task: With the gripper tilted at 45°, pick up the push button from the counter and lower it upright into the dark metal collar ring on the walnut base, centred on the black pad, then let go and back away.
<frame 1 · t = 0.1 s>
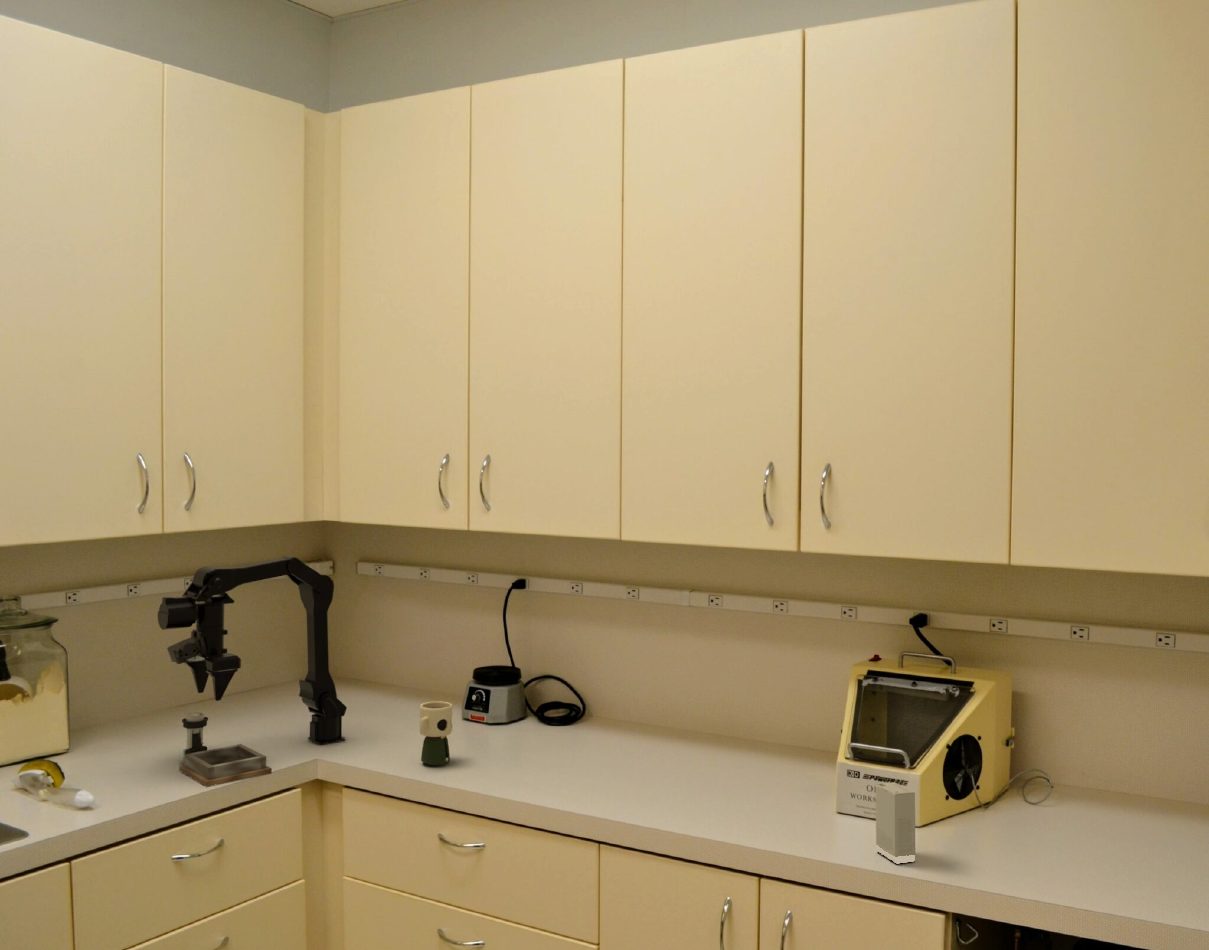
hand: (209, 696, 224), 15 cm above the countertop, tool pointing down, fingers open, 9 cm apart
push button: (192, 761, 226), on the countertop
character mug: (435, 764, 226), on the countertop
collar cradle: (225, 771, 218), on the countertop
skincare box: (894, 858, 177), on the countertop
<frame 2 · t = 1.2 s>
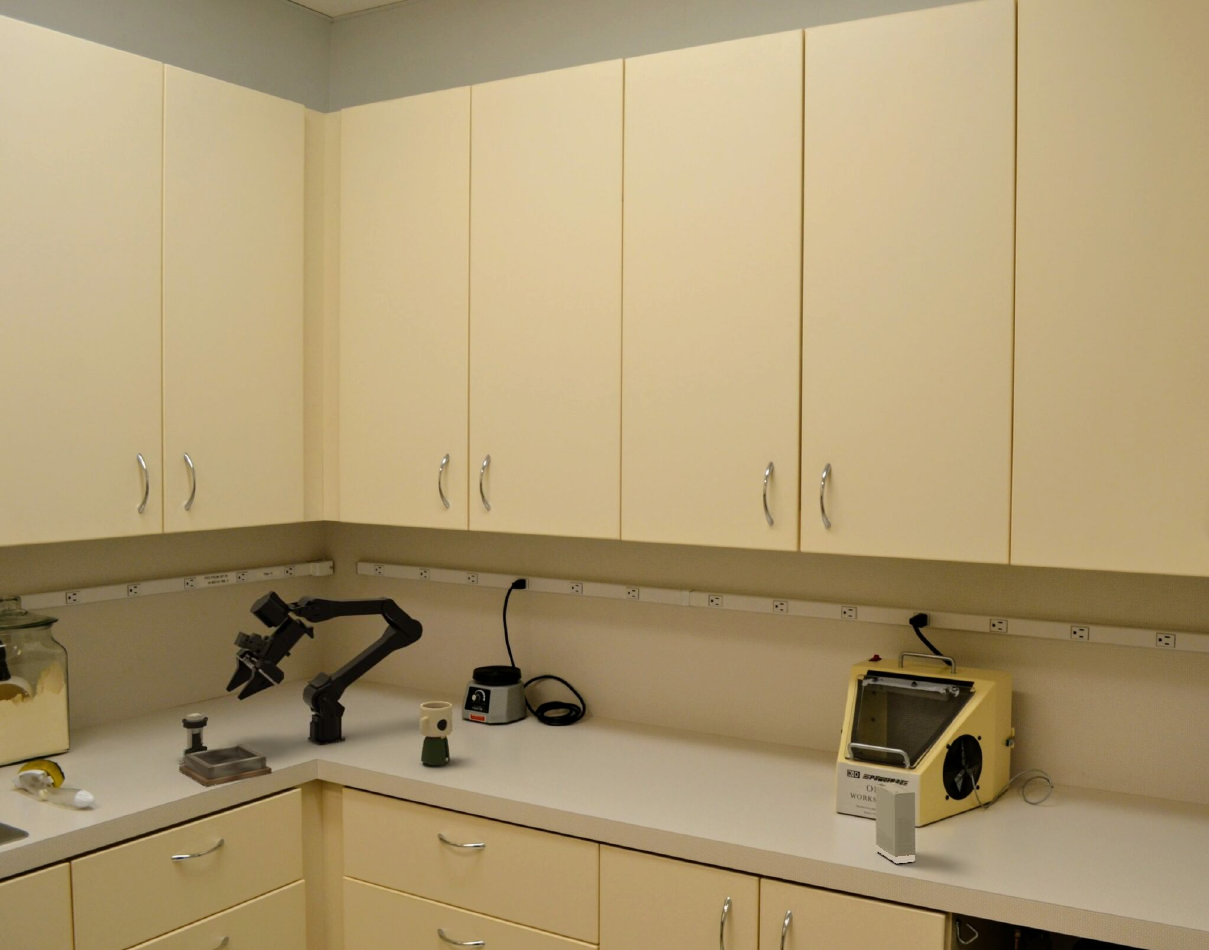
hand: (233, 694, 231), 13 cm above the countertop, tool tilted 45°, fingers open, 9 cm apart
nothing on the countertop moved.
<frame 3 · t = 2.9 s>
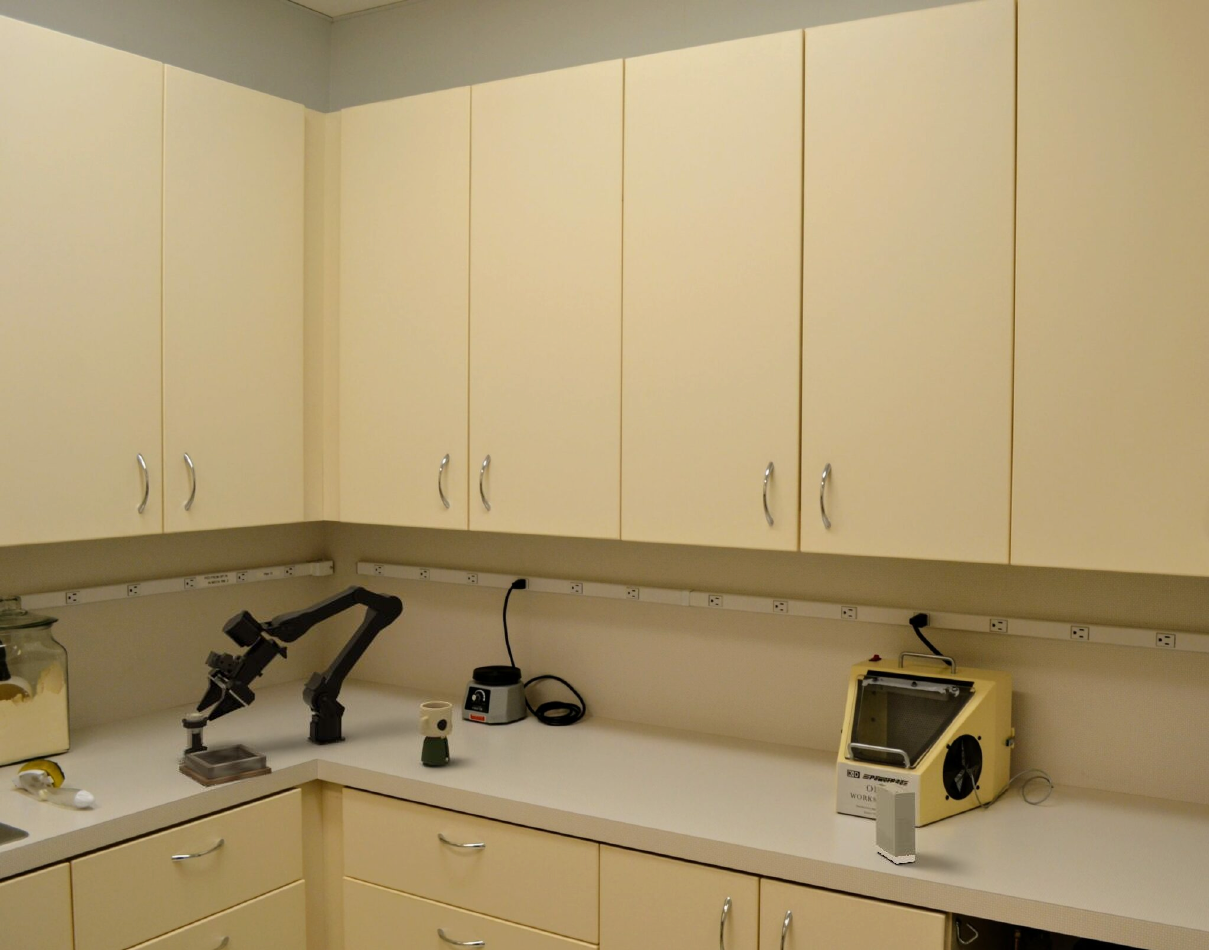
hand: (203, 715, 227), 10 cm above the countertop, tool tilted 45°, fingers open, 9 cm apart
nothing on the countertop moved.
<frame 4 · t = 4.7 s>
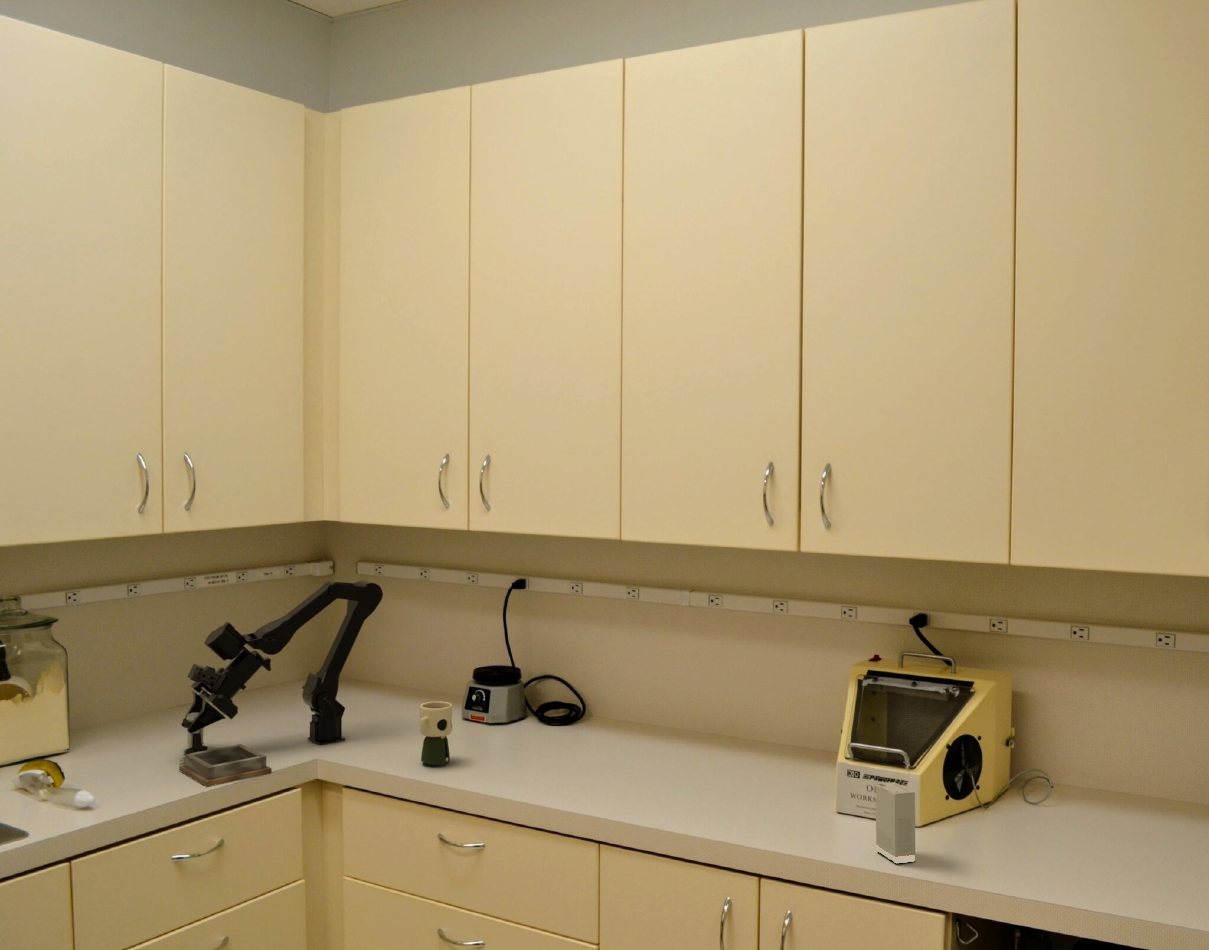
hand: (185, 729, 225), 7 cm above the countertop, tool tilted 45°, fingers closed on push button, 5 cm apart
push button: (192, 761, 226), on the countertop, touching gripper
everything else where it was.
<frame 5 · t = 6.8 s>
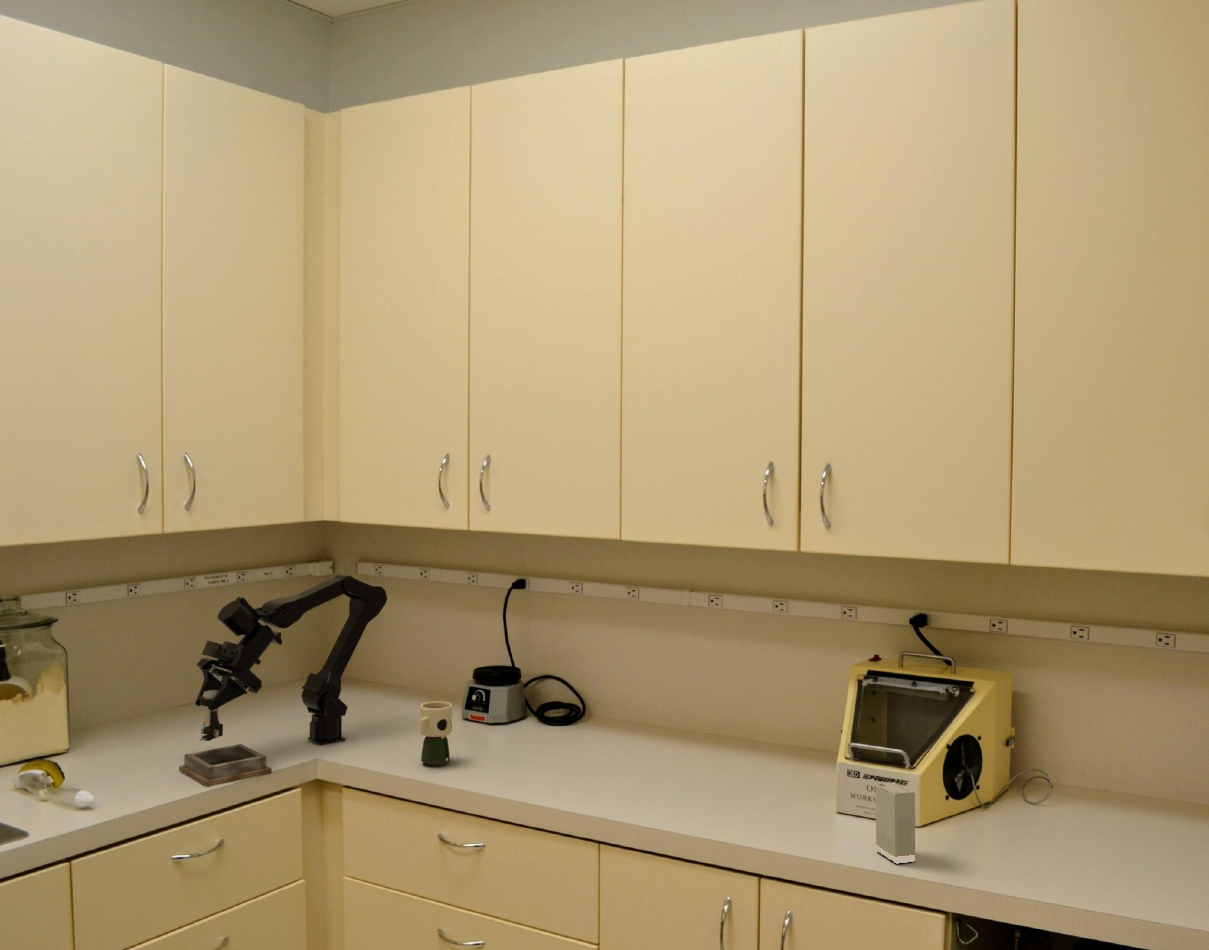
hand: (203, 707, 220), 13 cm above the countertop, tool tilted 45°, fingers closed on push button, 5 cm apart
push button: (209, 739, 221), point 6 cm above the countertop, touching gripper
everything else where it was.
when the fingers open (9 cm above the countertop, at t = 9.0 s): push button drops 1 cm, resting on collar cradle.
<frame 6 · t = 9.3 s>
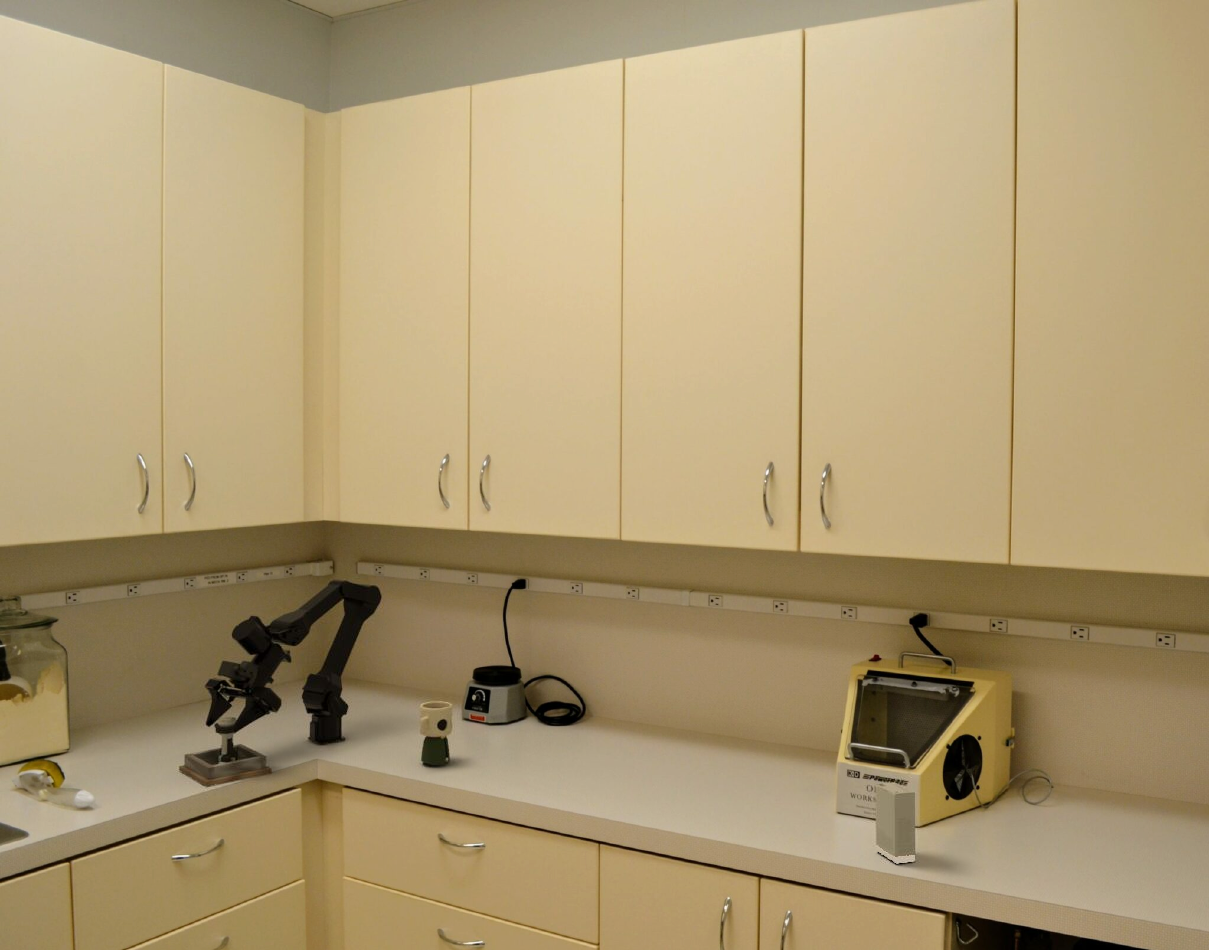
hand: (220, 728, 217), 10 cm above the countertop, tool tilted 45°, fingers open, 8 cm apart
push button: (225, 767, 218), point 1 cm above the countertop, touching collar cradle
everything else where it was.
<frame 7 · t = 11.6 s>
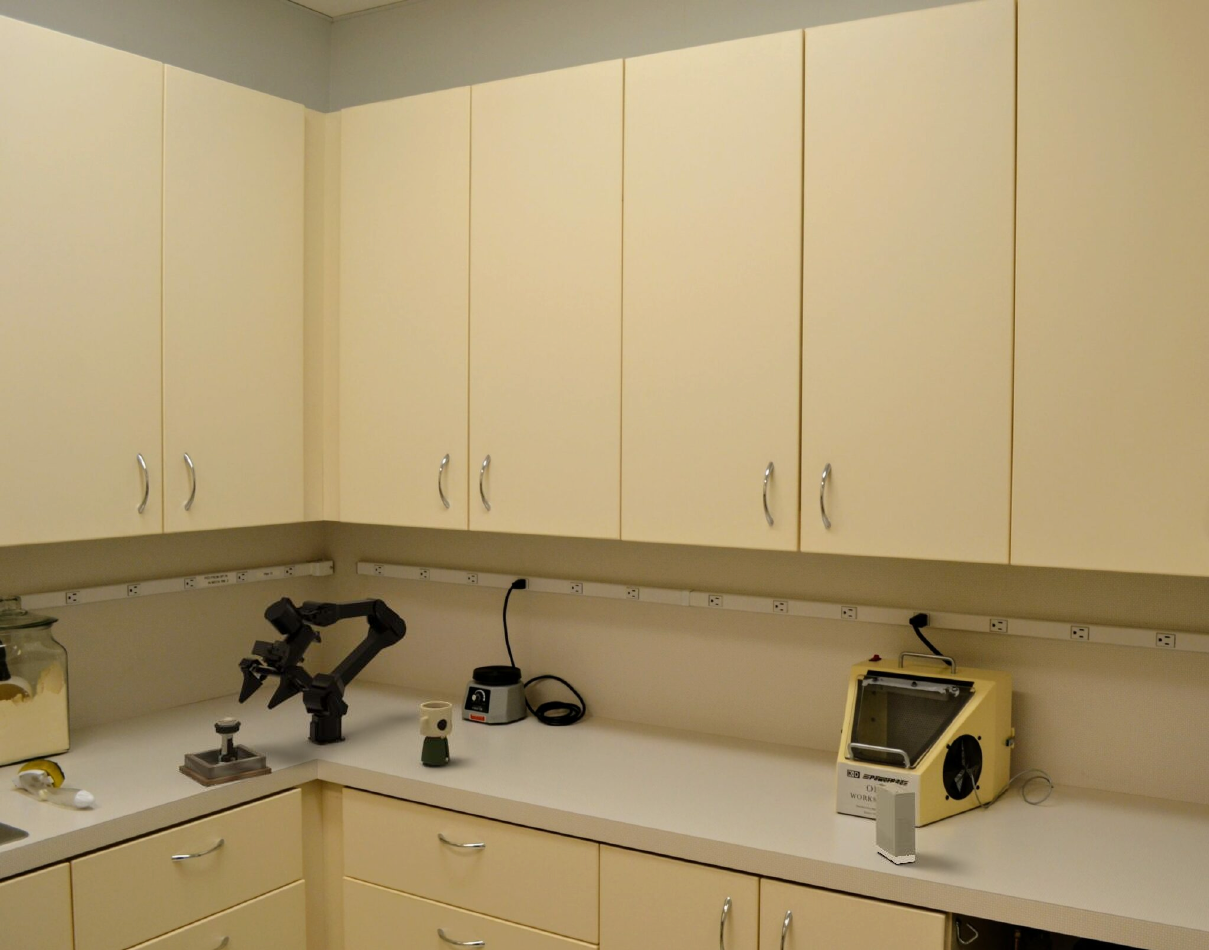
hand: (254, 705, 225), 13 cm above the countertop, tool tilted 45°, fingers open, 9 cm apart
nothing on the countertop moved.
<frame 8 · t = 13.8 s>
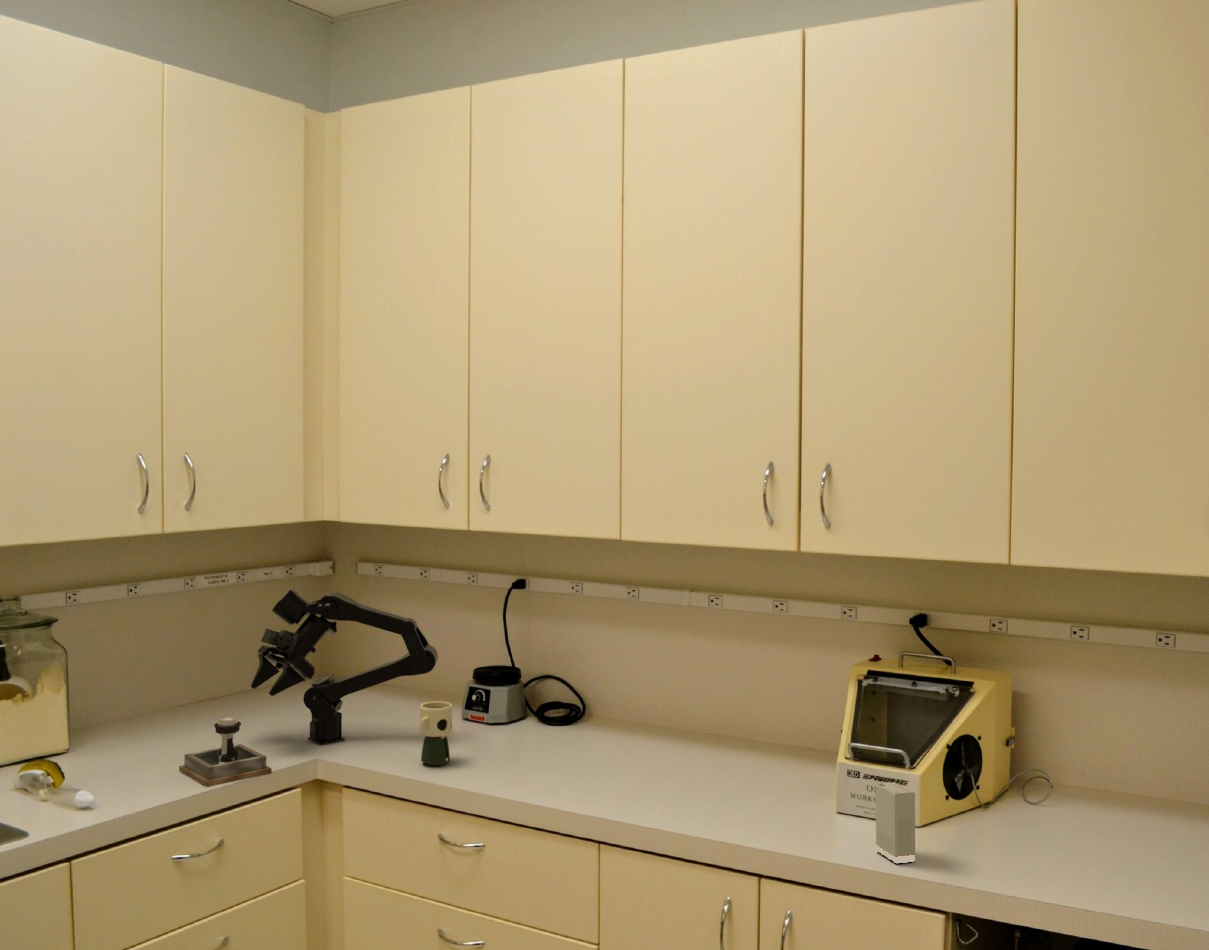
hand: (261, 691, 234), 14 cm above the countertop, tool tilted 45°, fingers open, 9 cm apart
nothing on the countertop moved.
at the end: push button 0.2 cm off-centre on the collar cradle, point 0.8 cm above the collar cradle's base; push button tilted 0°; the gripper is holding nothing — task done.
